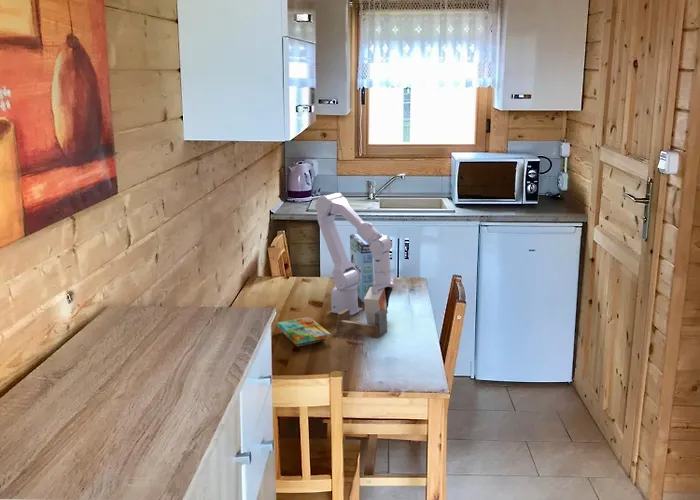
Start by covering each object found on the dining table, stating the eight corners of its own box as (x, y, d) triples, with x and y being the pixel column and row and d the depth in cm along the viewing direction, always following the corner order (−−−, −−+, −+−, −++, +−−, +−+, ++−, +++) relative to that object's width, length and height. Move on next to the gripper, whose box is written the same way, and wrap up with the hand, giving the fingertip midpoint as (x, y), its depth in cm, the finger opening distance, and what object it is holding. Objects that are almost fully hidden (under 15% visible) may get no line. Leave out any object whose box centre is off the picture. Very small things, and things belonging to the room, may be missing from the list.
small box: (382, 325, 245) (378, 300, 240) (366, 324, 247) (363, 299, 242) (388, 312, 252) (385, 287, 246) (373, 311, 253) (369, 286, 248)
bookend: (375, 336, 235) (374, 313, 233) (383, 331, 239) (382, 308, 237) (379, 336, 234) (378, 314, 232) (387, 331, 238) (386, 309, 237)
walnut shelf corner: (336, 331, 240) (335, 314, 239) (346, 325, 246) (345, 308, 245) (376, 338, 233) (376, 321, 231) (386, 331, 239) (386, 314, 237)
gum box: (351, 288, 289) (349, 234, 284) (363, 287, 290) (361, 233, 285) (362, 302, 271) (360, 244, 265) (375, 301, 272) (373, 243, 266)
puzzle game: (308, 314, 246) (331, 331, 228) (309, 326, 247) (331, 345, 229) (276, 320, 241) (297, 338, 224) (277, 333, 242) (298, 351, 225)
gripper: (383, 276, 240) (385, 314, 243) (401, 266, 252) (403, 302, 255) (365, 275, 244) (367, 312, 247) (383, 265, 256) (386, 300, 259)
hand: (384, 307), depth 251 cm, fingers closed, pressing on small box
